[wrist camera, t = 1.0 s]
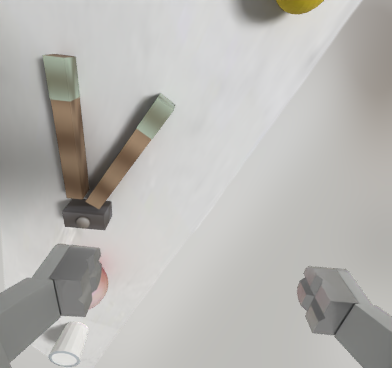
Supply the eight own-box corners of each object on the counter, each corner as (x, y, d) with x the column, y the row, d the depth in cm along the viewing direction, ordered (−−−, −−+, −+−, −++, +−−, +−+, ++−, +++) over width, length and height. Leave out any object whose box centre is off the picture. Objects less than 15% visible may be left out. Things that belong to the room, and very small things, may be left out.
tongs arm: (105, 199, 42) (99, 209, 40) (92, 191, 42) (84, 201, 39) (175, 105, 35) (173, 110, 32) (160, 93, 34) (157, 97, 31)
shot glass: (77, 316, 59) (63, 348, 53) (97, 330, 62) (86, 362, 56) (56, 325, 61) (41, 357, 55) (77, 339, 64) (64, 370, 58)
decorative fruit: (105, 285, 54) (87, 332, 45) (67, 271, 51) (41, 318, 43) (121, 257, 50) (106, 303, 41) (81, 242, 47) (56, 286, 39)
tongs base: (51, 53, 32) (31, 55, 28) (102, 60, 32) (89, 62, 28) (75, 212, 44) (63, 229, 40) (112, 215, 44) (103, 232, 40)
